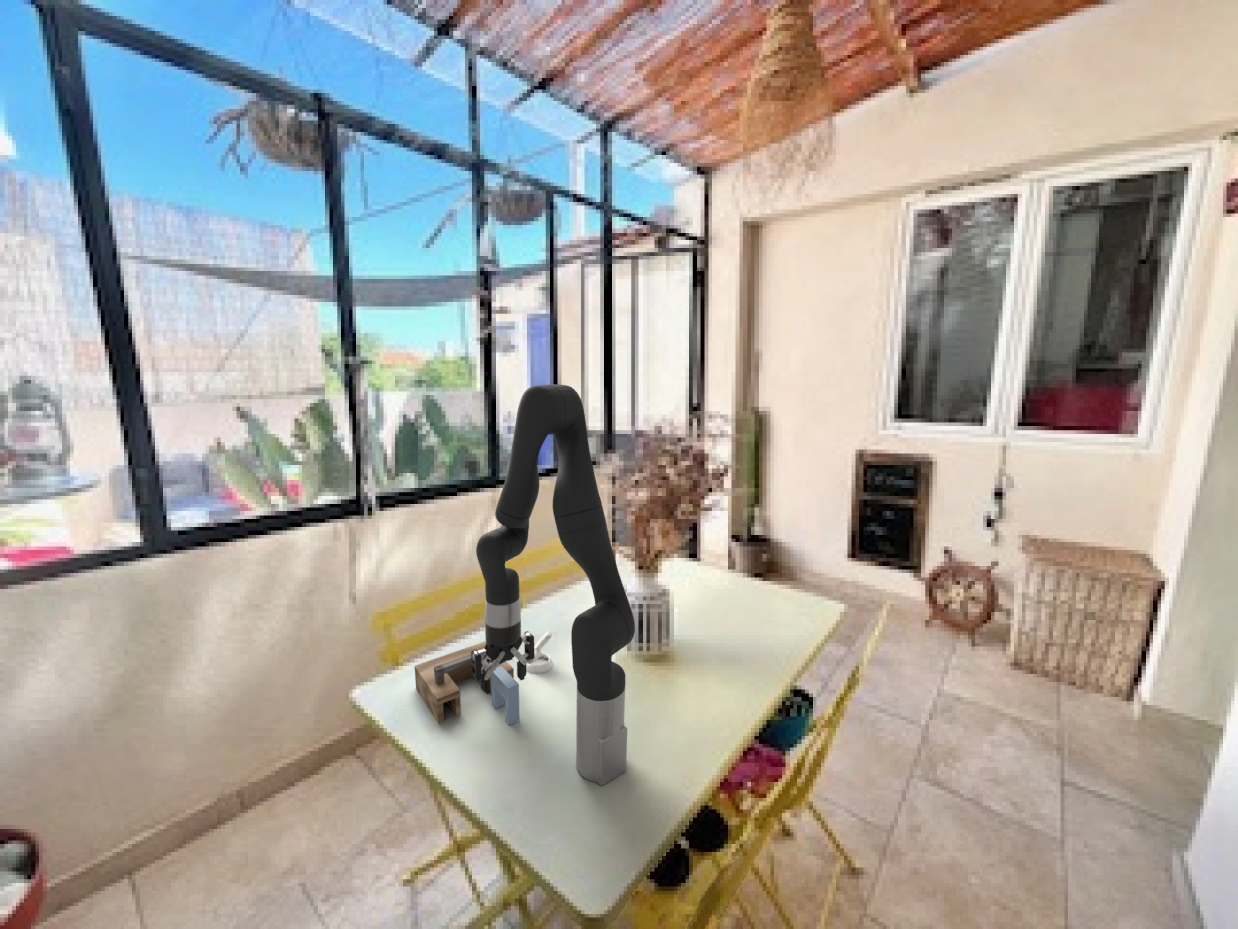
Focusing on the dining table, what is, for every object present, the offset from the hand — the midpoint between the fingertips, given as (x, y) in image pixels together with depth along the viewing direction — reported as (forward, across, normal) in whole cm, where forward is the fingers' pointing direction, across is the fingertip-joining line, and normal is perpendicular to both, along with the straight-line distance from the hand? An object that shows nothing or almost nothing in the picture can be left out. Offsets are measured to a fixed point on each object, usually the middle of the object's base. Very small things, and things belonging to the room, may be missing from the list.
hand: (504, 685), depth 111 cm
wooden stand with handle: (+7, -4, +13) cm, 15 cm away
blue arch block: (+7, 0, 0) cm, 7 cm away
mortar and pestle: (+7, +15, +11) cm, 20 cm away
